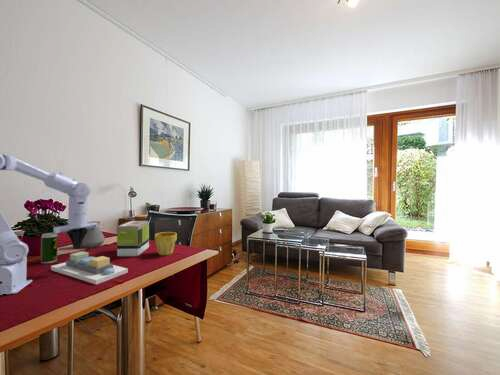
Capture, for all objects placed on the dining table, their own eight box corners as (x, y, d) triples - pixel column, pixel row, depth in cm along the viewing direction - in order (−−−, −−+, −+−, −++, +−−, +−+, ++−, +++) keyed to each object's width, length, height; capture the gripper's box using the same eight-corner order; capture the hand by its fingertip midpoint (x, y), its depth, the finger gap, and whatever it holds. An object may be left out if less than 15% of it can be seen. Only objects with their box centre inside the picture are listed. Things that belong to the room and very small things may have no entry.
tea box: (130, 247, 121) (130, 220, 121) (149, 247, 122) (150, 220, 122) (116, 256, 106) (116, 225, 106) (138, 256, 107) (138, 225, 107)
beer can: (39, 264, 93) (39, 235, 93) (42, 260, 97) (42, 233, 97) (56, 262, 96) (56, 234, 96) (58, 258, 100) (58, 232, 100)
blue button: (98, 265, 89) (98, 258, 89) (86, 269, 85) (86, 261, 85) (91, 263, 90) (91, 256, 90) (79, 267, 86) (79, 259, 86)
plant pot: (158, 258, 105) (159, 237, 105) (151, 252, 113) (151, 233, 113) (179, 254, 112) (180, 234, 112) (171, 249, 120) (171, 231, 120)
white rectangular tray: (127, 272, 87) (127, 263, 87) (95, 284, 76) (96, 274, 76) (83, 260, 99) (84, 253, 99) (50, 269, 88) (50, 261, 88)
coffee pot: (80, 244, 124) (80, 217, 124) (104, 242, 130) (105, 216, 130) (77, 255, 106) (78, 223, 106) (106, 251, 113) (106, 221, 113)
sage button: (88, 260, 91) (88, 252, 91) (76, 263, 87) (76, 255, 87) (82, 258, 93) (82, 251, 93) (69, 261, 89) (70, 254, 89)
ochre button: (109, 265, 86) (109, 257, 86) (97, 269, 82) (97, 261, 82) (102, 263, 88) (102, 256, 88) (90, 267, 84) (90, 259, 84)
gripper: (61, 216, 79) (60, 254, 79) (103, 212, 92) (102, 245, 92) (50, 214, 82) (49, 251, 82) (92, 211, 95) (91, 243, 95)
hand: (76, 248), depth 87 cm, fingers closed
